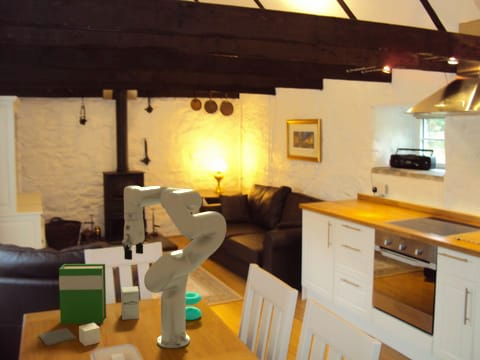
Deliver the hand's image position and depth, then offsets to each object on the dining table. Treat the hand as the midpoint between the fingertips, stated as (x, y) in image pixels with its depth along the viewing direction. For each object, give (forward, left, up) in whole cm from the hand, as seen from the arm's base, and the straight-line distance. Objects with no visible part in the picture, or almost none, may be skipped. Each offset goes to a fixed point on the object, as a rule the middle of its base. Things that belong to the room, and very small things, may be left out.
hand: (134, 256), depth 209 cm
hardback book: (+18, +15, -30) cm, 38 cm away
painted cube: (-4, +21, -30) cm, 37 cm away
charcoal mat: (+7, +30, -30) cm, 43 cm away
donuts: (-6, -24, -30) cm, 39 cm away
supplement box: (+10, -3, -30) cm, 32 cm away
